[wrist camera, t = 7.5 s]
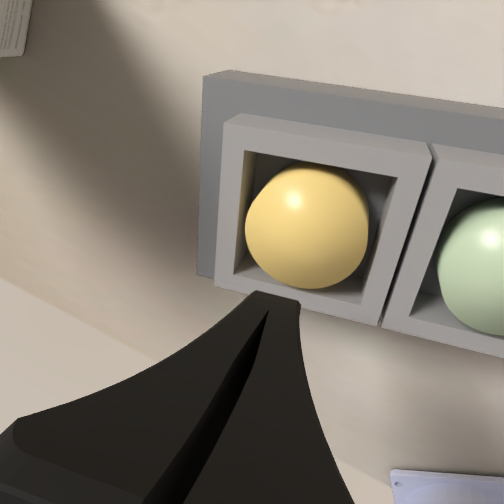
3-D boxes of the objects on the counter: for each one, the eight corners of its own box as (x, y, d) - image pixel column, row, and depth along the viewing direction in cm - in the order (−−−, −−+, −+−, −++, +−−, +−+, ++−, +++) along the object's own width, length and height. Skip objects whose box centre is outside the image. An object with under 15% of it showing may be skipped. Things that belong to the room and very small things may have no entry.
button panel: (926, 167, 13) (1188, 231, 9) (731, 365, 18) (843, 470, 13) (228, 69, 18) (180, 81, 13) (217, 247, 22) (179, 297, 18)
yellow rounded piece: (382, 172, 14) (382, 191, 13) (354, 273, 17) (351, 300, 15) (265, 151, 15) (250, 166, 14) (253, 250, 17) (240, 273, 16)
